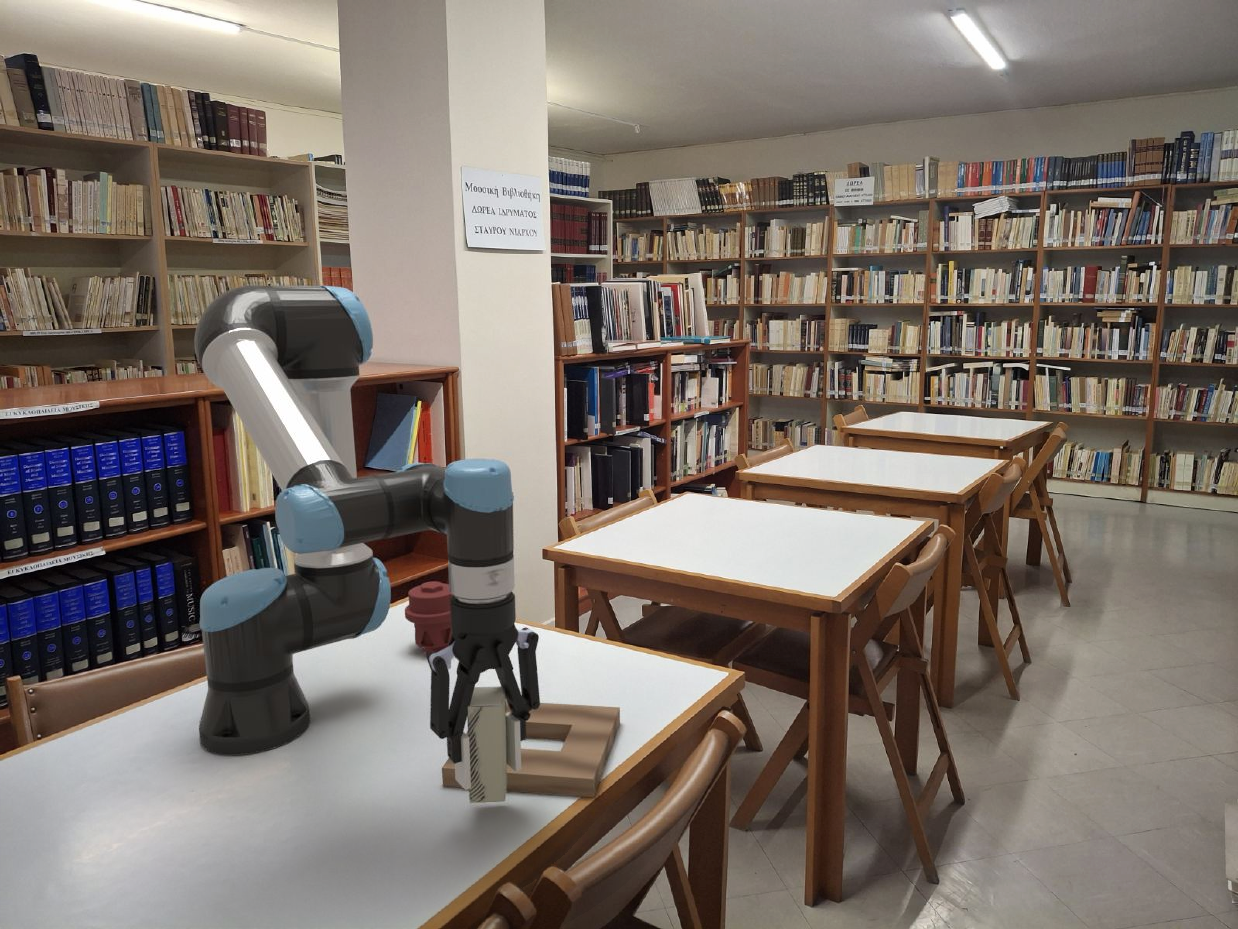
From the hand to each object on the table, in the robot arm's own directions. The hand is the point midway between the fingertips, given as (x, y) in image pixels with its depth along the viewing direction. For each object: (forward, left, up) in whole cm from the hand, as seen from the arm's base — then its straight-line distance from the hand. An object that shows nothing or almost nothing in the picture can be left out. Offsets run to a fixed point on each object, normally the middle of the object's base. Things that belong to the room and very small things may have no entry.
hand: (488, 774), depth 104 cm
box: (0, 0, -3) cm, 3 cm away
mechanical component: (+16, +53, -5) cm, 56 cm away
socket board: (+12, +9, -5) cm, 16 cm away
